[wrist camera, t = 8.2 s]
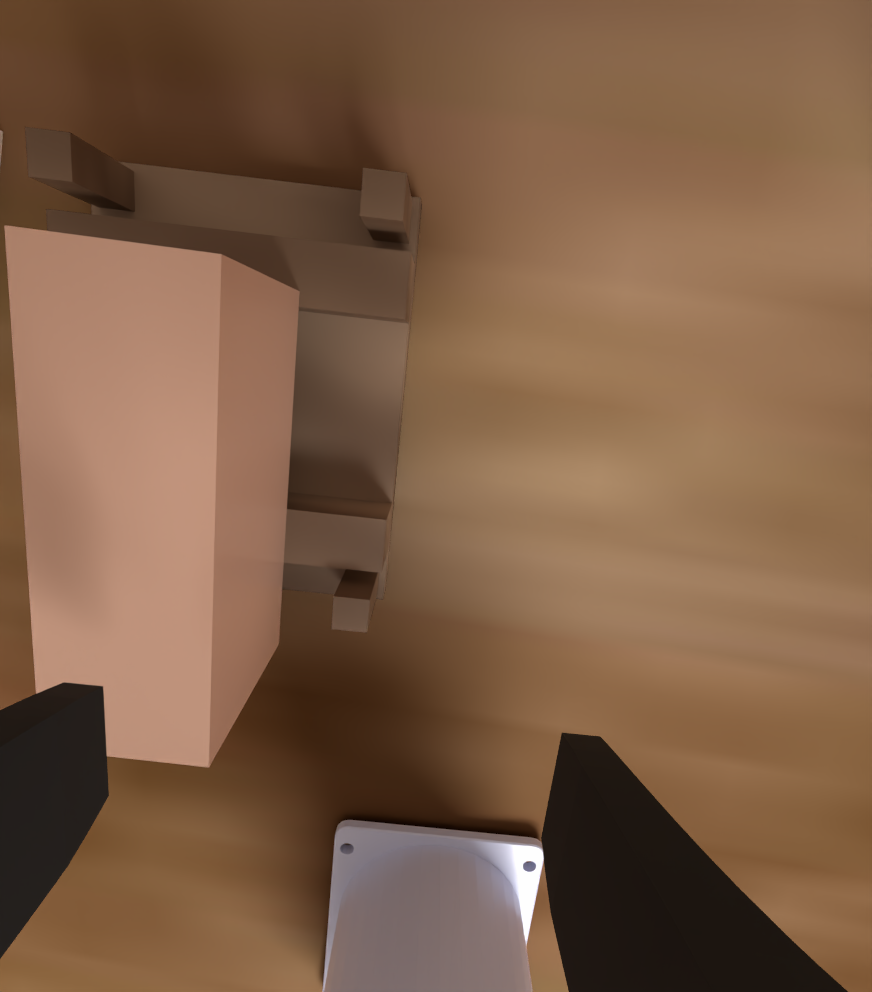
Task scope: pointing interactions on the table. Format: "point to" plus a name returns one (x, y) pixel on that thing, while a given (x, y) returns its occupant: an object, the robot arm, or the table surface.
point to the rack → (320, 334)
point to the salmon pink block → (152, 478)
